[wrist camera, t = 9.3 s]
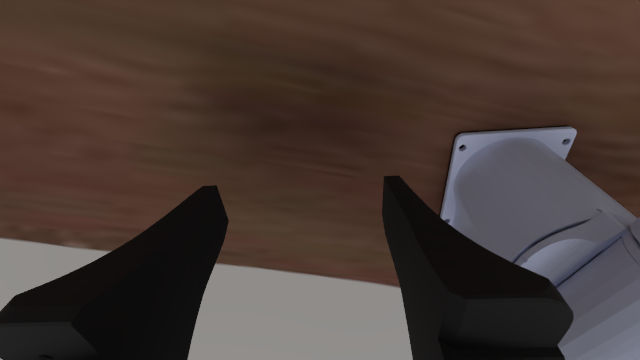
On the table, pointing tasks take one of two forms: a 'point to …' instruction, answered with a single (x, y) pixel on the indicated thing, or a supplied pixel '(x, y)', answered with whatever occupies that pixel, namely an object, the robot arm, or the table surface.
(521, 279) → the robot arm
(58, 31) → the table surface
